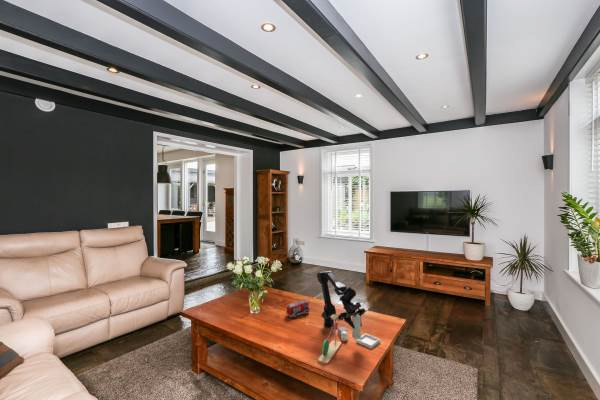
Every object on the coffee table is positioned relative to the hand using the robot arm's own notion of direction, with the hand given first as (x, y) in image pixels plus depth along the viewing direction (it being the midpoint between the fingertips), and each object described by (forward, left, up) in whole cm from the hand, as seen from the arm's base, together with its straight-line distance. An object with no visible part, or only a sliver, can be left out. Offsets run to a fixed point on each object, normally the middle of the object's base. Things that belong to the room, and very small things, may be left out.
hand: (357, 327), depth 178 cm
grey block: (-6, +18, -14) cm, 24 cm away
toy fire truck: (-36, +52, -14) cm, 65 cm away
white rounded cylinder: (-6, +12, -13) cm, 19 cm away
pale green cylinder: (-1, +1, -7) cm, 7 cm away
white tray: (+9, +7, -13) cm, 18 cm away
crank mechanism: (-18, -4, -14) cm, 23 cm away
